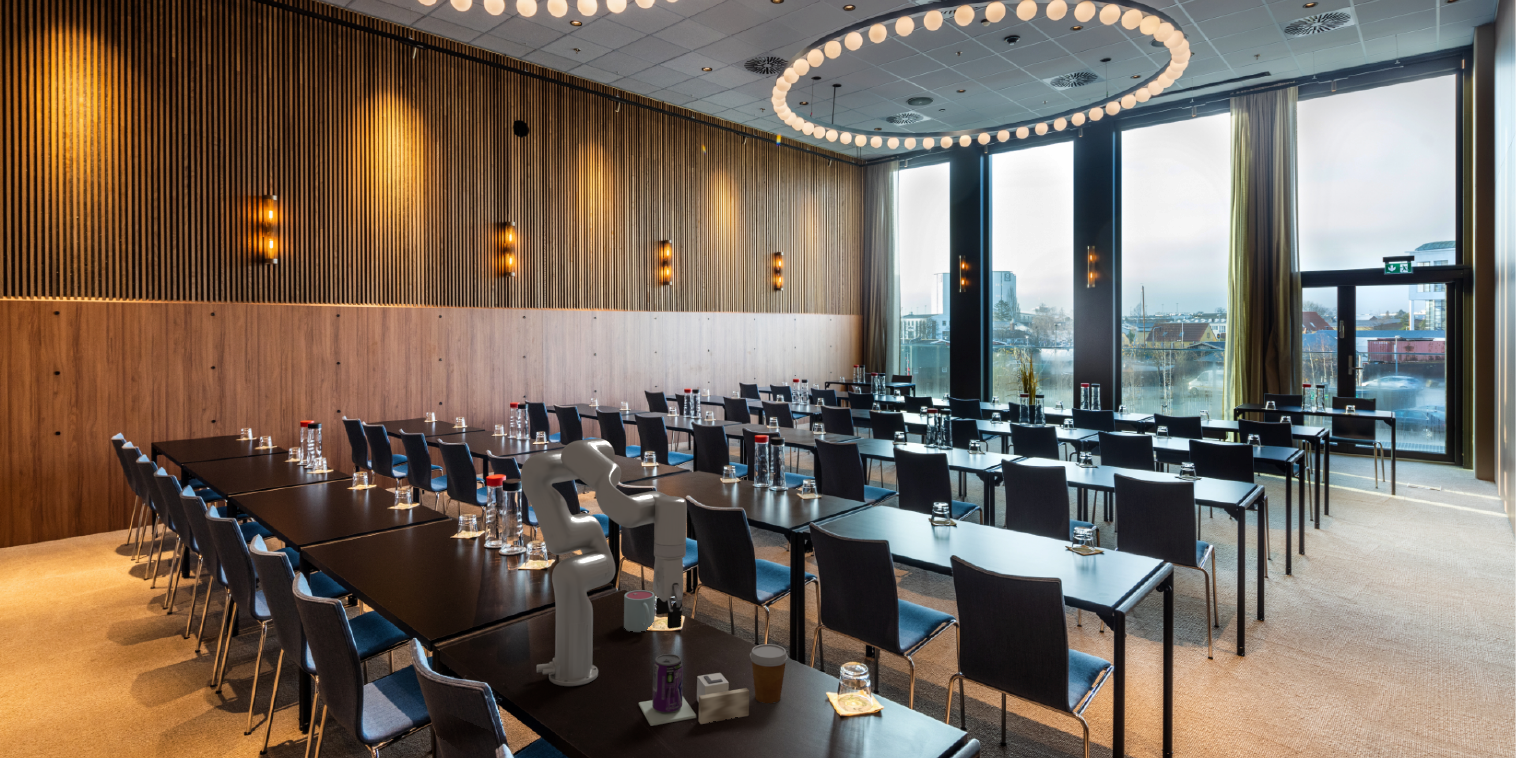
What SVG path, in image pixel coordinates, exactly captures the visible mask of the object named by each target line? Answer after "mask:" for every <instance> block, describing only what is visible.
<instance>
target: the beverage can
mask: <svg viewBox="0 0 1516 758" xmlns="http://www.w3.org/2000/svg"><path fill="white" fill-rule="evenodd" d="M654 659H655V660H654V664H653V666H652V700H653V702H652V706H653V708H654V709H655V710H657V711H659V712H662V713H671V712H674V711H676V710H678V709H680V708H681V707H682V696H683V685H684V684H683V681H684V679H683V678H684V677H683V676H684V674H683V673H684V665H683V663H682V658H681V656H680V655H677V654H674V653H665V654H660V655H658V656H656V657H655V658H654Z"/></svg>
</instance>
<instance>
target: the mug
mask: <svg viewBox="0 0 1516 758" xmlns="http://www.w3.org/2000/svg"><path fill="white" fill-rule="evenodd" d="M655 596H656V594H655V592H654V591H650V590H643V589H641V590H640V589H639V590H632V591H631V590H630V591H627V592H625V594H624V596H623V597H624V598H623V599H624V600H623V603H624V604H623V606H624V607H623V612H624V613H623V629H624V628H625V629H626V630H625V629H624V630H625V631H627V632H630V631H633V632H632V633H642V632H641V631H645V632H647V631H646V630H647V629H648V627H650V626H651V625H652V623H653V622H654V623H655V603H656V600H655Z"/></svg>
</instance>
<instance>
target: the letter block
mask: <svg viewBox="0 0 1516 758" xmlns="http://www.w3.org/2000/svg"><path fill="white" fill-rule="evenodd" d="M696 678H697V679H696V681H697V683H696V701H697V703H699V696H701V695H707V694H713V693H719V692H725V691H730V690H729V689H730V688H729V686H730V685H729V683H730V682H729V681H728V680H727V679H726V678H725V676H724V675H723V674H722V673H721V672H716V673H709V674H703V675H698V676H697V677H696Z"/></svg>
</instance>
